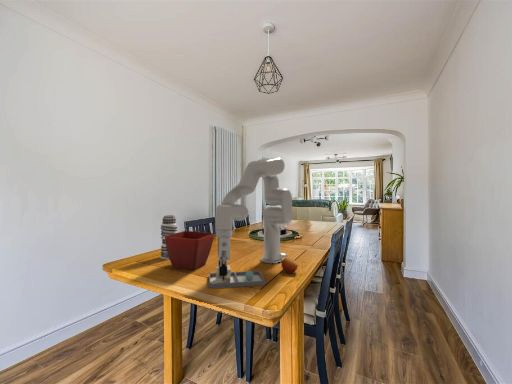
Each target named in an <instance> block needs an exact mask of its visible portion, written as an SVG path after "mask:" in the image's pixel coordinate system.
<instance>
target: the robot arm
mask: <svg viewBox="0 0 512 384" xmlns="http://www.w3.org/2000/svg"><path fill="white" fill-rule="evenodd" d="M284 170H285V162H284V160H283V159H282V158H281V157H272V158H262V159H261V158H260V159H257V160H254V161H253V160H252V161H250V162H248V163H247V166H246V167H245V169H244V172H243V174H242V176H241V178H240V180H239V183H238V184H236V186H234V187H233V188H232V189H231V190H229V191H228V192H227V193H226V194H225V196H224V198H223V199H222V202H221V204H218V205H216V207H215V229H214V230H215V231H214V237H215V238H217V256H218V257H217V258H218V265H217V266H220V267H219V276H227V265H228V261H230V260H231V238H232V237H233V223H234V221H238V222H241V221H244V220H246V219H247V218H248V215H249V209H248V208H247V207H246V206H245V205H243V204H237V203H236V202H238V200H240V199H242V198H244V197H246V196H248V195H250V194H253V193H254V192H255V190H256V188H257V185H258V183H259V180H260V178H262V179H263V186H264V187H263V189H264V200H265V203H266V204H267V205H271V206H268V207H265V208H264V209H263V211H262V220H263V256H262V257H260V261H261V262H263V263H265V264H272V263H273V264H279V263H278V262H280V263H282V262H281V261H283V259H284V258H289V256H288V254H287V253H281V229H280V226H279V225H289V224H291V223H292V221H293V196H292V193H291V190H289V189H287V188H280V184H279V178H278V176H277V175H280V174H282V173H283V172H284ZM235 203H236V204H235ZM272 205H273V206H272ZM278 206H279V207H278ZM280 206H281V207H280Z"/></svg>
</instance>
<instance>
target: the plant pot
mask: <svg viewBox="0 0 512 384" xmlns="http://www.w3.org/2000/svg"><path fill="white" fill-rule="evenodd" d="M214 237H215V232H214V233H213V232H202V231H191V230H183V231H180V232H175V234H171V235H168V236H165V242H166V247H167V252H168V255H169V259H168V260H169V262H170V264H171V266H172V268H173V269H177V270H186V271H187V270H188V271H195V270H198V269H199V268H201V267H203V266H204V265H206V263H207V261H208V258H209V256H210V253H211V250H212V246H213V242H214Z"/></svg>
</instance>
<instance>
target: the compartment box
mask: <svg viewBox="0 0 512 384" xmlns="http://www.w3.org/2000/svg"><path fill="white" fill-rule="evenodd" d="M247 271H248V270H247ZM247 271H231V277H230V283H216V272H209V273H208V289H219V288H220V289H221V288H222V289H223V288H237V287H238V288H240V287H255V286H266V285H267V282H266V279H265V277H264V276H263V274H262V272H261V271H260V270H253V271H252V270H251V271H252V272H253V274H254V277H253V279H252V280H247V279H246V278H245V273H246V272H247Z"/></svg>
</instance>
